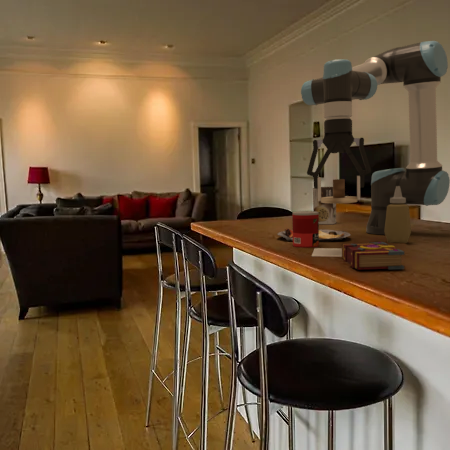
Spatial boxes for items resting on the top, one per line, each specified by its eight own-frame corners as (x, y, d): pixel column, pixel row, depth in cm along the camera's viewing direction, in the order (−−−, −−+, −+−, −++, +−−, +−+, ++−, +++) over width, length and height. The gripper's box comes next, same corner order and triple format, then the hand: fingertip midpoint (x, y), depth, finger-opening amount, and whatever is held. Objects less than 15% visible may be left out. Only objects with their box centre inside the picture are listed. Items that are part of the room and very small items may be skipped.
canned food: (318, 249, 152) (318, 213, 151) (291, 249, 154) (291, 213, 153) (319, 245, 160) (318, 210, 159) (293, 245, 161) (293, 211, 160)
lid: (357, 200, 145) (356, 178, 145) (357, 202, 136) (357, 179, 135) (321, 200, 148) (321, 179, 147) (319, 203, 138) (319, 180, 137)
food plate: (266, 236, 183) (266, 227, 183) (321, 233, 192) (322, 223, 192) (302, 247, 160) (302, 236, 160) (363, 243, 169) (363, 232, 168)
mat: (363, 250, 148) (363, 248, 148) (364, 259, 135) (364, 256, 135) (314, 250, 151) (314, 248, 151) (311, 258, 138) (311, 256, 138)
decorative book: (356, 271, 119) (356, 250, 118) (339, 259, 135) (339, 240, 134) (404, 270, 119) (405, 249, 118) (382, 257, 135) (382, 239, 134)
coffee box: (336, 223, 224) (336, 186, 222) (333, 224, 218) (333, 187, 216) (316, 222, 228) (316, 186, 226) (312, 224, 222) (312, 187, 220)
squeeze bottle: (397, 245, 156) (398, 186, 154) (378, 242, 163) (378, 186, 161) (416, 243, 159) (417, 186, 157) (397, 240, 166) (397, 185, 165)
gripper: (380, 117, 140) (380, 198, 143) (297, 122, 145) (299, 199, 148) (381, 115, 133) (382, 200, 135) (295, 120, 138) (297, 202, 141)
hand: (339, 200), depth 142 cm, fingers closed on lid, 10 cm apart
